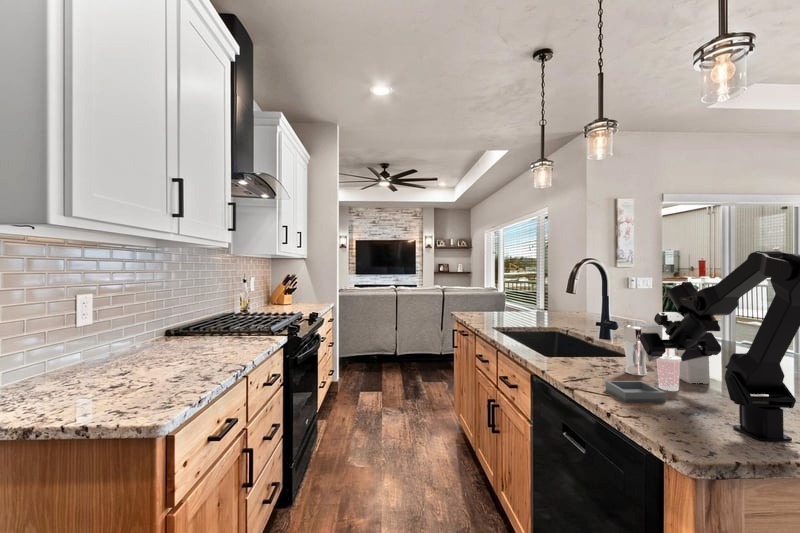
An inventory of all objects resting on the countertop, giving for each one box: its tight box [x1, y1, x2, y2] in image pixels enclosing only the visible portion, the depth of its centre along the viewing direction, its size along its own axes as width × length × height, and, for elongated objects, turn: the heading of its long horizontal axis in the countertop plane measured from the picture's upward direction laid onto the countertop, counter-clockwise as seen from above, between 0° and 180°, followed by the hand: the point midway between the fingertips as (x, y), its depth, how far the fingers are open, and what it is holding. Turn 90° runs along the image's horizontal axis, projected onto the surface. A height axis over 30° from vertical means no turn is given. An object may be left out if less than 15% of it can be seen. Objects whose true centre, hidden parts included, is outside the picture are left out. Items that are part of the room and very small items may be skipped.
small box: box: [674, 349, 711, 385], centre depth 116 cm, size 8×6×10 cm
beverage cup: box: [655, 338, 681, 392], centre depth 108 cm, size 6×6×14 cm
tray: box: [605, 380, 666, 403], centre depth 102 cm, size 10×10×2 cm
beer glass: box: [622, 325, 648, 377], centre depth 124 cm, size 7×7×15 cm
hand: (665, 359), depth 109 cm, fingers open, 9 cm apart
